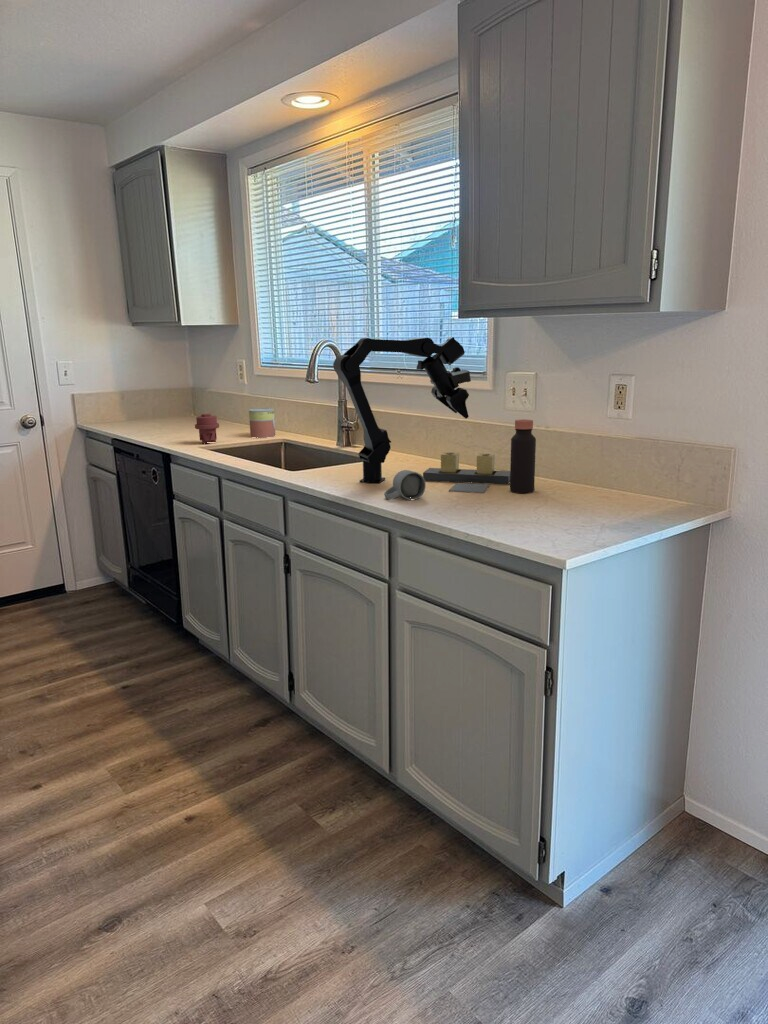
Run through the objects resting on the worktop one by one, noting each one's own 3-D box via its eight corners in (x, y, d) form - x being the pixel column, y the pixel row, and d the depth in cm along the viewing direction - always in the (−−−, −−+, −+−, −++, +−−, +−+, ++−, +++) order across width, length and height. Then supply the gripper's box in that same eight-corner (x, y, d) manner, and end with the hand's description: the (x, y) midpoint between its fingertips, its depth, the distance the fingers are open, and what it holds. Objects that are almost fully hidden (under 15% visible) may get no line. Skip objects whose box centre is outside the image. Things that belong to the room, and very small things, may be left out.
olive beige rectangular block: (491, 482, 212) (492, 455, 210) (476, 482, 214) (476, 455, 212) (494, 479, 217) (494, 453, 215) (479, 479, 218) (479, 452, 216)
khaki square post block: (455, 481, 216) (455, 454, 214) (440, 480, 217) (440, 454, 215) (458, 478, 220) (458, 452, 218) (444, 477, 221) (444, 451, 219)
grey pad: (483, 493, 199) (483, 491, 199) (448, 491, 202) (448, 490, 202) (489, 485, 208) (489, 484, 208) (456, 484, 211) (456, 483, 211)
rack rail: (508, 484, 209) (508, 476, 209) (423, 480, 217) (423, 472, 216) (512, 479, 217) (512, 471, 216) (429, 475, 224) (429, 467, 224)
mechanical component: (198, 445, 295) (194, 442, 304) (222, 443, 299) (217, 440, 308) (196, 416, 292) (192, 413, 301) (220, 414, 296) (215, 412, 305)
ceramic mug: (415, 492, 201) (415, 466, 199) (426, 498, 193) (425, 471, 192) (380, 496, 198) (379, 469, 196) (389, 503, 190) (388, 475, 188)
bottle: (531, 494, 196) (533, 422, 191) (507, 492, 199) (508, 421, 194) (536, 489, 202) (539, 419, 197) (513, 487, 205) (515, 418, 200)
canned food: (277, 437, 314) (275, 410, 311) (251, 438, 312) (249, 411, 309) (274, 434, 325) (272, 407, 322) (249, 435, 322) (247, 409, 319)
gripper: (470, 362, 210) (494, 405, 216) (449, 355, 227) (471, 395, 233) (440, 384, 210) (464, 426, 216) (420, 375, 227) (444, 415, 233)
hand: (461, 415), depth 225 cm, fingers open, 9 cm apart
